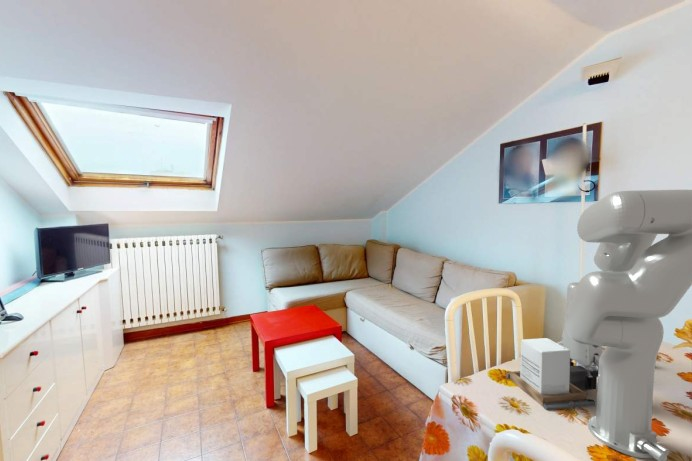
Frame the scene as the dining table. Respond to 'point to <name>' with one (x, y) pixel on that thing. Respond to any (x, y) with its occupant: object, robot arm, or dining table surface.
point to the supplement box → (545, 366)
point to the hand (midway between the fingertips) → (578, 381)
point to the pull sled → (574, 394)
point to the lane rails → (566, 402)
